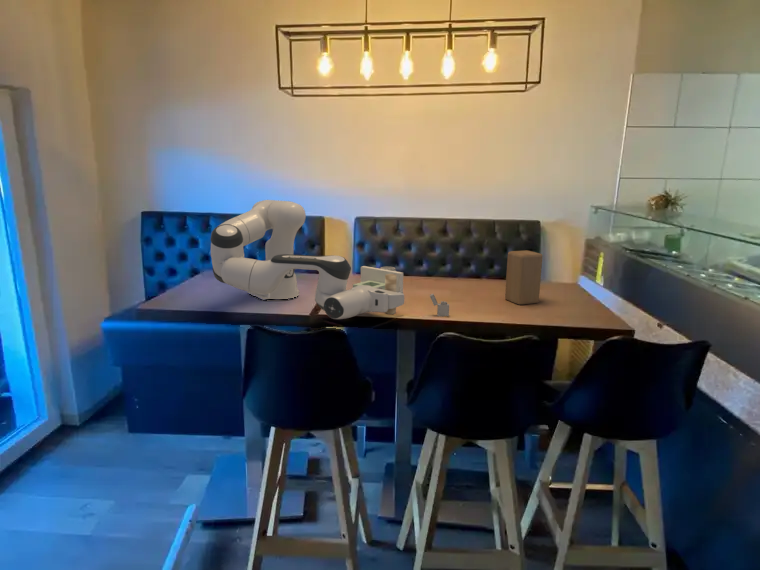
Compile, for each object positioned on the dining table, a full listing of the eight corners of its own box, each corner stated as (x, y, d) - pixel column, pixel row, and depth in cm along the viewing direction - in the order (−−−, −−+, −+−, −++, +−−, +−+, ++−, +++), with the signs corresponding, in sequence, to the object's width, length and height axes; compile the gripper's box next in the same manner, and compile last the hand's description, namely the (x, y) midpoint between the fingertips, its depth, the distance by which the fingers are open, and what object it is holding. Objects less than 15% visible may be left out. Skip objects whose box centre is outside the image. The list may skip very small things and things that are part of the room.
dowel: (382, 315, 184) (382, 275, 181) (389, 313, 187) (390, 273, 184) (391, 318, 182) (391, 276, 178) (398, 315, 185) (398, 275, 181)
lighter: (448, 315, 186) (449, 294, 184) (448, 316, 184) (449, 295, 182) (429, 314, 187) (429, 293, 185) (428, 315, 185) (429, 294, 183)
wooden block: (524, 297, 212) (527, 249, 208) (539, 303, 203) (543, 253, 199) (503, 299, 209) (507, 251, 204) (518, 305, 200) (522, 255, 195)
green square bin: (352, 302, 198) (352, 284, 196) (369, 297, 206) (369, 280, 204) (372, 306, 192) (372, 288, 190) (389, 301, 199) (389, 283, 198)
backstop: (327, 307, 195) (327, 273, 192) (363, 296, 211) (364, 265, 208) (367, 317, 182) (367, 281, 179) (402, 305, 198) (403, 272, 195)
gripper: (343, 302, 179) (368, 295, 190) (388, 313, 167) (413, 305, 177) (342, 285, 178) (369, 278, 188) (388, 294, 165) (414, 287, 176)
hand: (391, 291), depth 183 cm, fingers open, 8 cm apart
